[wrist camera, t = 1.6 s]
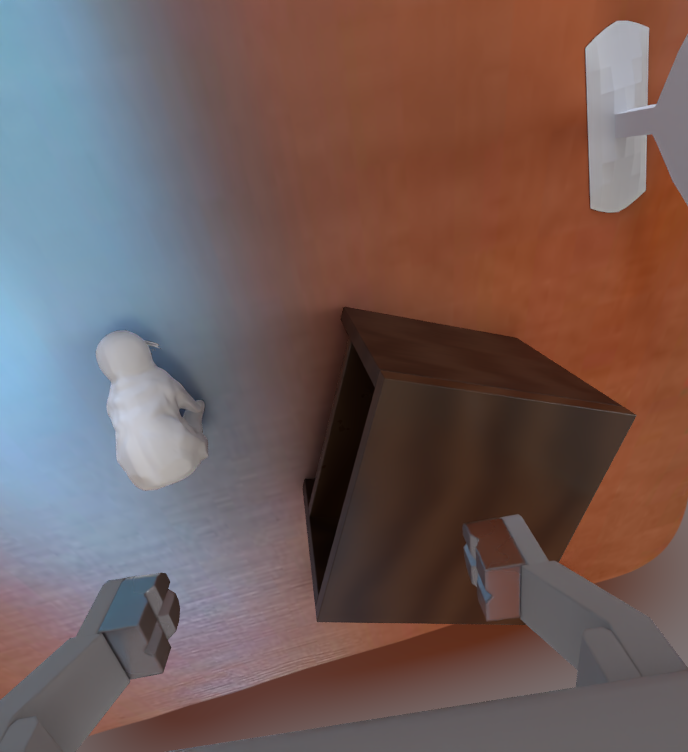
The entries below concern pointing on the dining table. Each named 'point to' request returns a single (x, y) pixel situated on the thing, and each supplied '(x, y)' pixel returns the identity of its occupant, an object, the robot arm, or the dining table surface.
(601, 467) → the shelf stand
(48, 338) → the dining table surface
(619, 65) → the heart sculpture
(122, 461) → the white figurine
